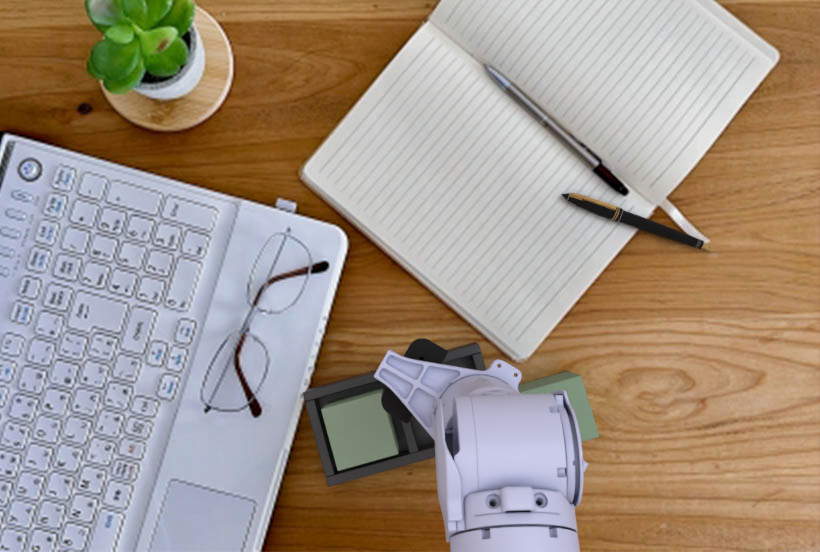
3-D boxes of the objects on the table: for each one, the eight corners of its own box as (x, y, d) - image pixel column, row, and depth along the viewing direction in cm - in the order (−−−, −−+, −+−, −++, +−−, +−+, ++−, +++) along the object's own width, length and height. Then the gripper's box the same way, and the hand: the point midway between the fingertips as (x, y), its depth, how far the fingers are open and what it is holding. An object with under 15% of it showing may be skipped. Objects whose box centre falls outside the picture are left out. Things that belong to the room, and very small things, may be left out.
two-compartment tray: (501, 432, 70) (510, 443, 64) (331, 479, 70) (324, 495, 64) (475, 341, 71) (481, 344, 65) (307, 389, 71) (297, 396, 65)
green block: (584, 427, 70) (599, 437, 64) (528, 443, 70) (538, 454, 64) (567, 370, 70) (581, 375, 65) (511, 386, 70) (520, 392, 65)
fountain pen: (720, 246, 71) (726, 244, 69) (715, 258, 70) (722, 257, 69) (561, 189, 72) (565, 186, 70) (557, 201, 71) (560, 199, 70)
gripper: (630, 431, 47) (580, 406, 61) (411, 308, 48) (410, 310, 62) (572, 539, 47) (535, 489, 60) (352, 413, 48) (364, 391, 62)
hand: (469, 404), depth 61 cm, fingers open, 7 cm apart
